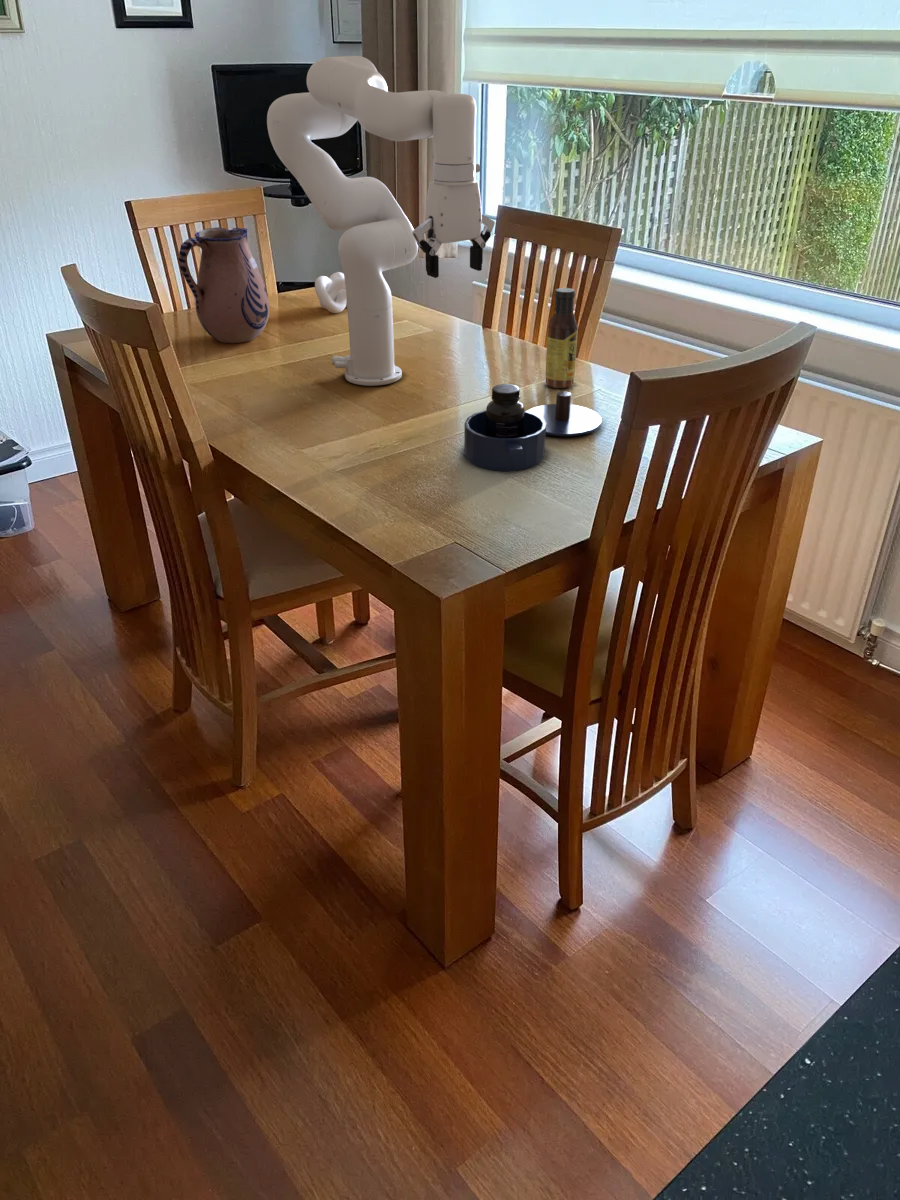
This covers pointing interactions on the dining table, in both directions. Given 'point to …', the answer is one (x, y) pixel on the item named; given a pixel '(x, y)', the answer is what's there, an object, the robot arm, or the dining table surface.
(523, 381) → the dining table surface
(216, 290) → the ceramic pitcher
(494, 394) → the supplement bottle
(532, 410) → the pan lid
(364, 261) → the robot arm
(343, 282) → the white knot sculpture
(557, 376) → the sauce bottle
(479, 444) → the pan
